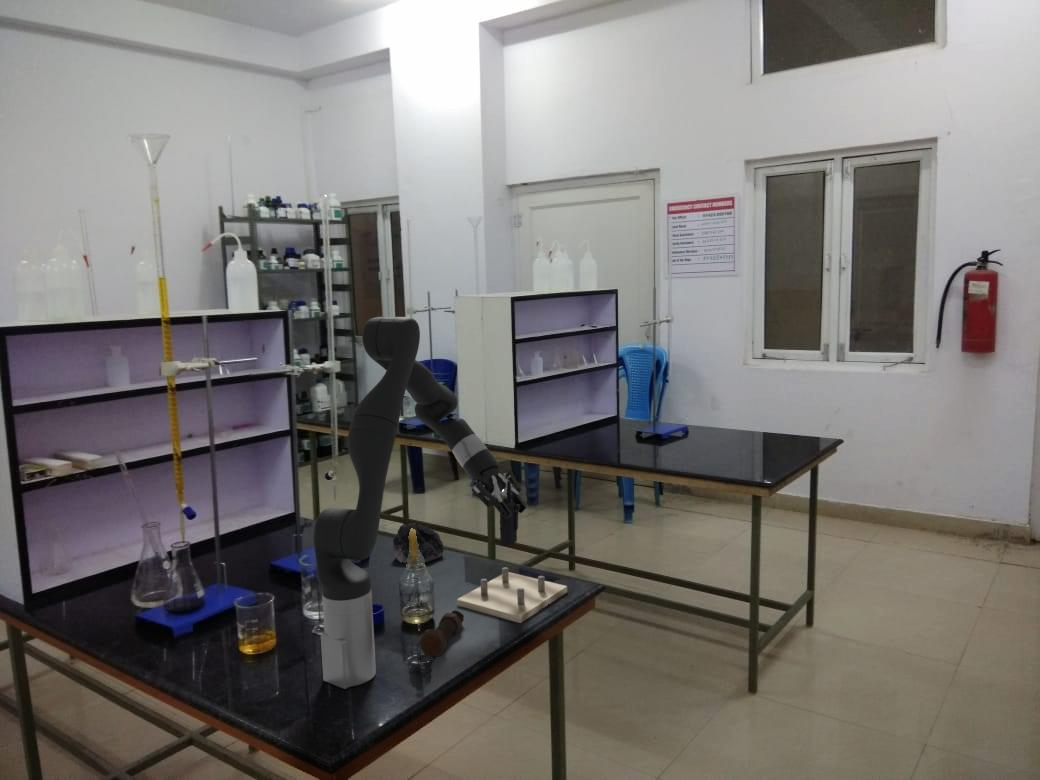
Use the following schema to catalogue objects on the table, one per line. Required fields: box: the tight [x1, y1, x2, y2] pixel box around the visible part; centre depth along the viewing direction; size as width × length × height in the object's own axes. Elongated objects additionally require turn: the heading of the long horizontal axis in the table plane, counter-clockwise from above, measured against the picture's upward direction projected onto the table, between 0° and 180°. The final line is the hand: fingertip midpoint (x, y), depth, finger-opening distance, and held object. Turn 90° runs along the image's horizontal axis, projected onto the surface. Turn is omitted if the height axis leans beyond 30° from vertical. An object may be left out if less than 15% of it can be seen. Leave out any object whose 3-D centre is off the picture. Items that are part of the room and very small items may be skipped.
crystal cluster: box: [392, 522, 445, 564], centre depth 213 cm, size 13×14×10 cm
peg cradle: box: [456, 566, 568, 624], centre depth 184 cm, size 20×18×5 cm
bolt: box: [418, 609, 465, 657], centre depth 164 cm, size 6×5×15 cm
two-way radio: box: [499, 481, 520, 547], centre depth 181 cm, size 6×4×15 cm
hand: (516, 513), depth 180 cm, fingers closed on two-way radio, 5 cm apart
